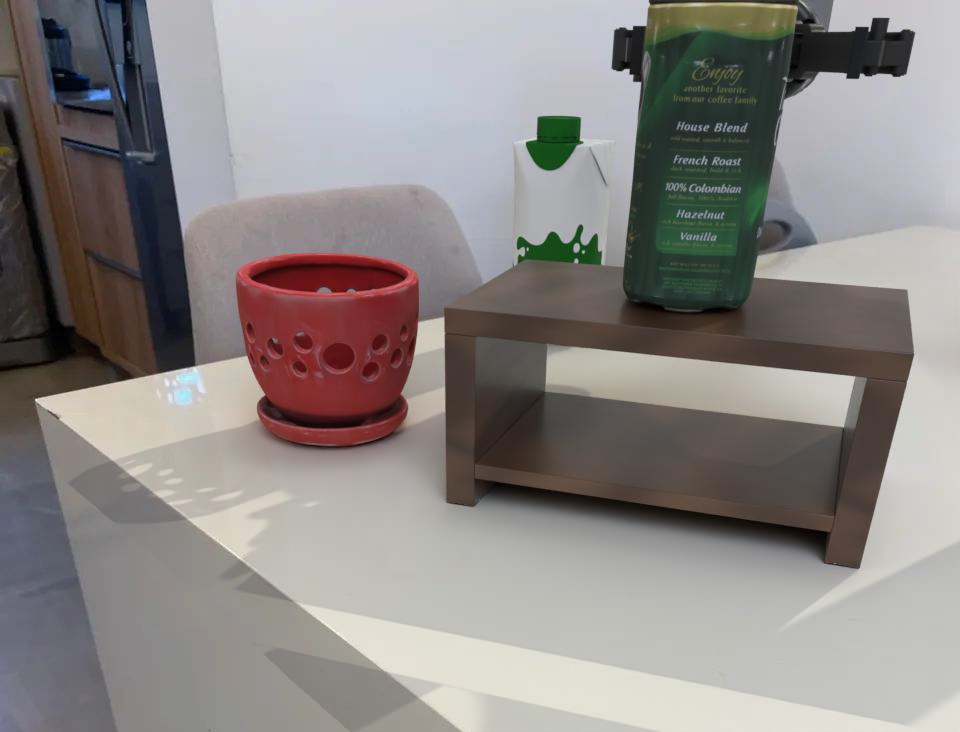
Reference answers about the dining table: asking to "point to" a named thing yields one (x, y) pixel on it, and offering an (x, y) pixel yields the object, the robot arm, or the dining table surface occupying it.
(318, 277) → the flower pot
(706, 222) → the coffee jar
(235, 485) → the dining table surface
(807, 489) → the shelf
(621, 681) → the dining table surface
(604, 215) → the milk carton
